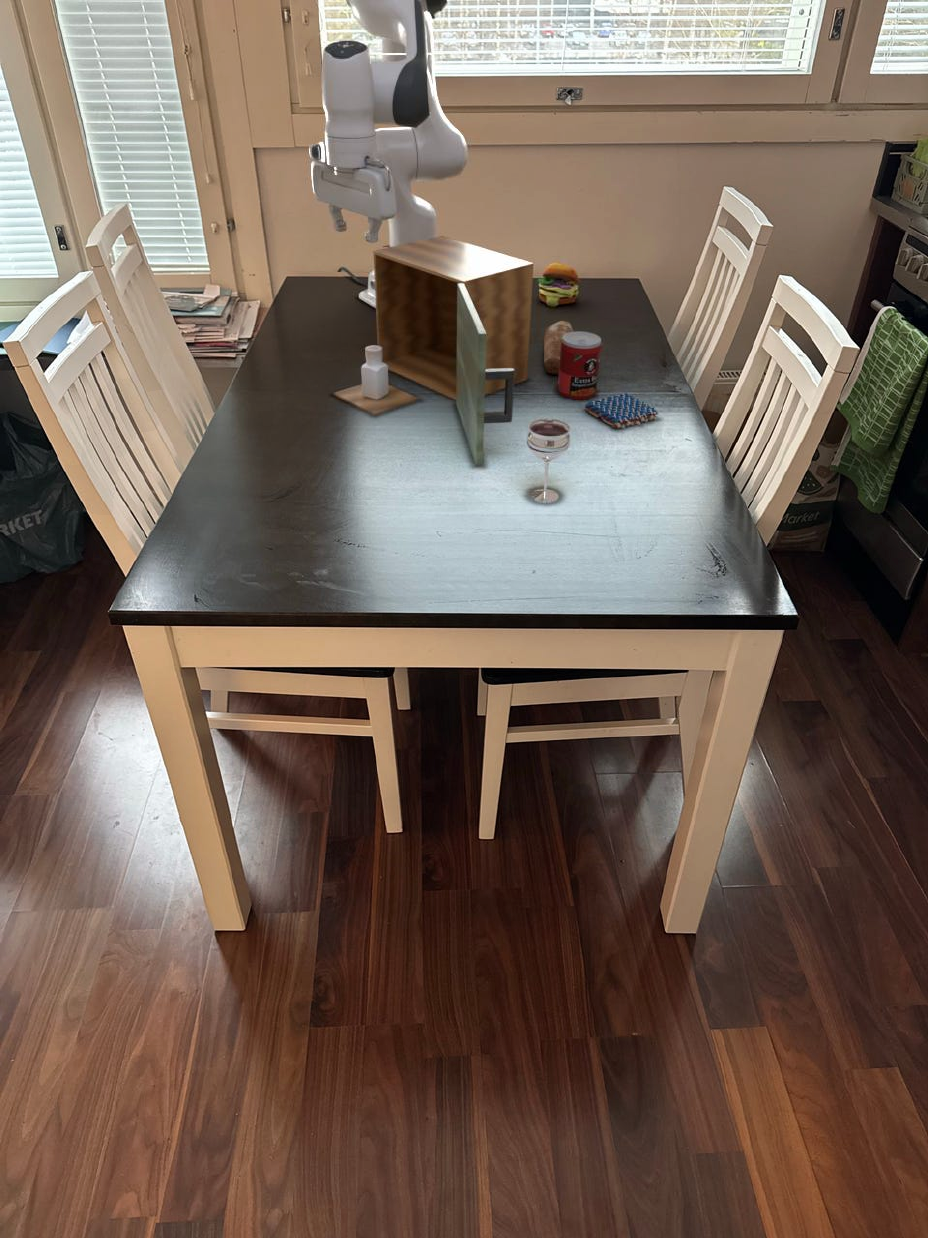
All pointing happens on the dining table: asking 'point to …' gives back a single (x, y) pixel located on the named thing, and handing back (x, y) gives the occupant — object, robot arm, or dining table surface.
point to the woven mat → (621, 410)
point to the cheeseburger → (558, 285)
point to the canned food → (579, 365)
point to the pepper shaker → (374, 374)
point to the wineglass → (547, 449)
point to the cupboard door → (476, 376)
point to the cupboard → (450, 309)
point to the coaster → (372, 405)
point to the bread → (554, 345)
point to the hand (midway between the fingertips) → (356, 236)
